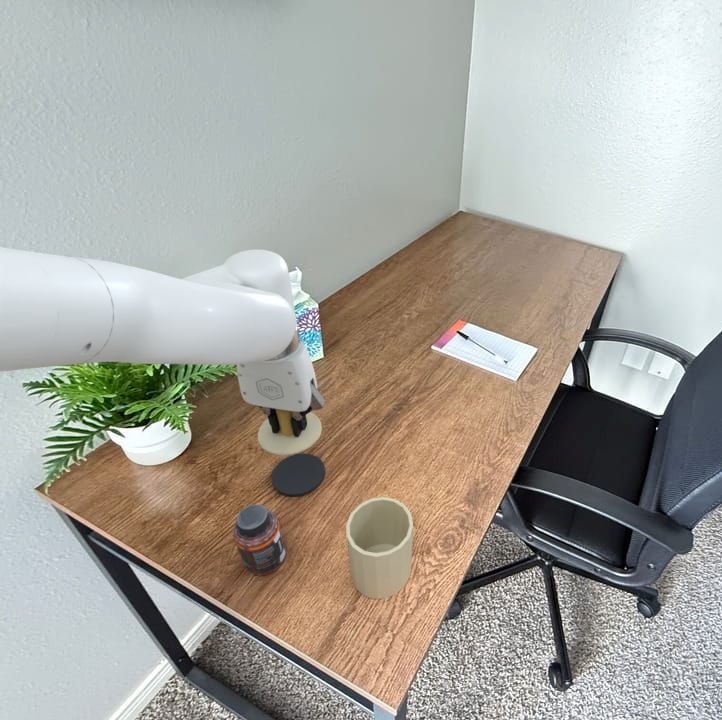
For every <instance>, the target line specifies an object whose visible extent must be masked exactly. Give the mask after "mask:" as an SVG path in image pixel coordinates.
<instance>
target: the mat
mask: <svg viewBox="0 0 722 720" xmlns="http://www.w3.org/2000/svg"><path fill="white" fill-rule="evenodd" d="M325 476H326V467H325V464H324V462H323V461H322V460H321V458H320V457H318V456H316V455H315V454H312V453H304V452H303V453H302V452H301V453H297V454H293V455H288V456H287V457H285V458H284V459H282V460H281V461H279V462H278V463H277V465H275V466H274V468H273V470H272V472H271V477H270V478H271V485H272V487H273V489H274V490H275V491H276V492H277V493H278V494H279V495H282V496H284V497H288V498H298V497H299V498H300V497H303V496H307V495H309V494H310V493H312V492H314V491H315V490H317V489H318V488H319V487H320V486H321V484H322V483H323V481H324V480H325Z"/></svg>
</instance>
